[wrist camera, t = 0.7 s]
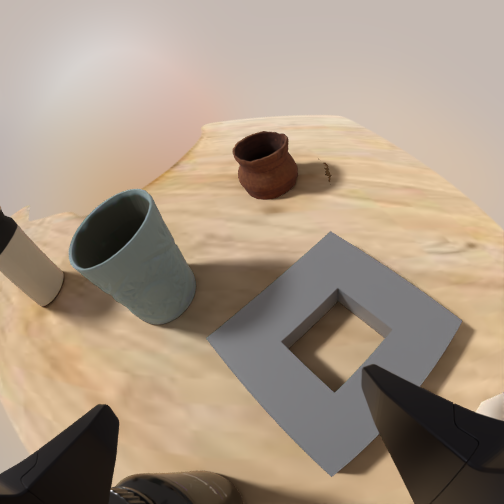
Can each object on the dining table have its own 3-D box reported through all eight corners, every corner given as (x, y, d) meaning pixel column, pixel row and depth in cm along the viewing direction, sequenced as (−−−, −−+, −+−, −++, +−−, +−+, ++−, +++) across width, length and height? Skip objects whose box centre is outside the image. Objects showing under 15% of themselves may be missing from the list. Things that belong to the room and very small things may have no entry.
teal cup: (145, 263, 36) (94, 199, 27) (211, 255, 33) (165, 177, 24) (123, 330, 29) (53, 272, 21) (196, 333, 27) (126, 263, 18)
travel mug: (55, 307, 36) (-20, 237, 23) (34, 307, 38) (-32, 246, 24) (70, 268, 41) (6, 198, 28) (48, 273, 43) (-9, 211, 30)
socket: (452, 332, 19) (462, 320, 17) (331, 472, 15) (331, 476, 13) (331, 246, 29) (330, 231, 27) (216, 347, 25) (205, 338, 23)
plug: (507, 423, 11) (552, 408, 6) (476, 470, 10) (520, 471, 5) (481, 401, 14) (524, 381, 9) (449, 449, 13) (489, 446, 8)
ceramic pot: (330, 147, 42) (323, 109, 37) (332, 224, 32) (325, 177, 26) (230, 159, 48) (217, 126, 43) (199, 231, 38) (176, 194, 33)
